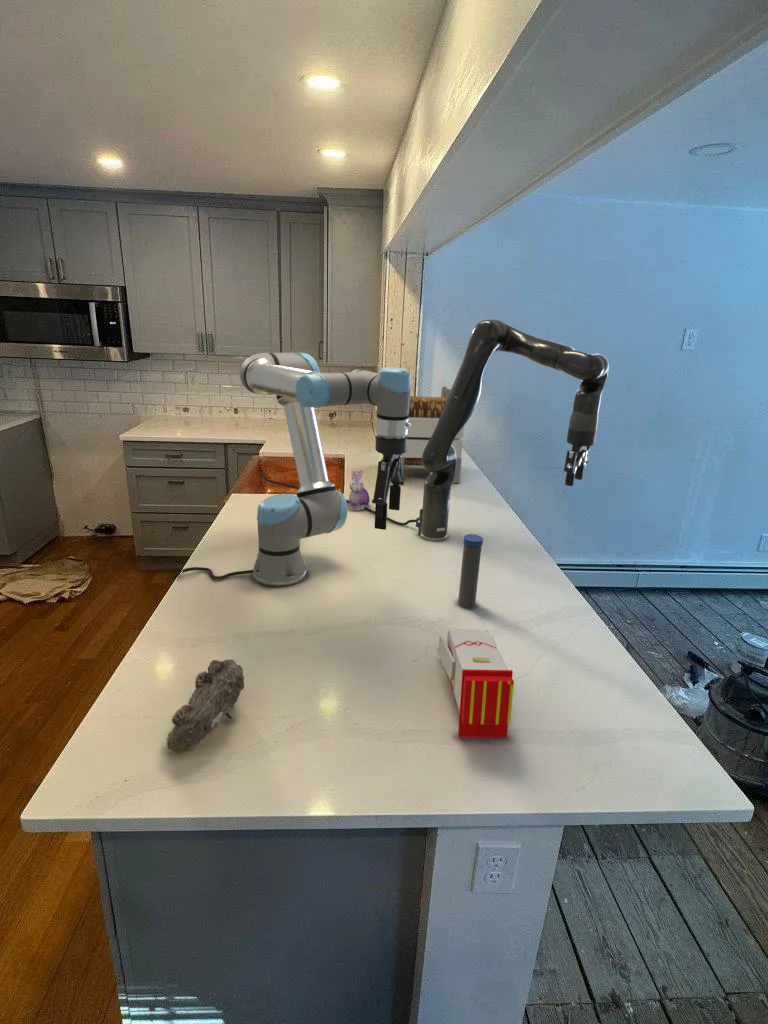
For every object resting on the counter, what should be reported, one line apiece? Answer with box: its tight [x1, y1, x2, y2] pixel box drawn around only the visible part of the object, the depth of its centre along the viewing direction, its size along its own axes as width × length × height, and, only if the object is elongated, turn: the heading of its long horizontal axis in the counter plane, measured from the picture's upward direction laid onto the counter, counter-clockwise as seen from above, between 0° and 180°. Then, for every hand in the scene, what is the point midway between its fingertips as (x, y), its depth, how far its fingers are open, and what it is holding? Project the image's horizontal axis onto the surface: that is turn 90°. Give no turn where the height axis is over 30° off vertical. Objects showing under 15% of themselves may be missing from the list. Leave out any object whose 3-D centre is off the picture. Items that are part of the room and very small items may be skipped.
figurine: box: [348, 469, 370, 511], centre depth 222 cm, size 9×10×15 cm
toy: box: [437, 628, 515, 738], centre depth 117 cm, size 12×13×30 cm
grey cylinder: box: [457, 544, 483, 609], centre depth 151 cm, size 5×5×19 cm
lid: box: [462, 533, 484, 548], centre depth 148 cm, size 5×5×2 cm
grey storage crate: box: [402, 386, 465, 484], centre depth 268 cm, size 34×33×41 cm
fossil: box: [166, 658, 245, 754], centre depth 106 cm, size 22×10×15 cm
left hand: (387, 518), depth 142 cm, fingers open, 13 cm apart
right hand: (573, 482), depth 165 cm, fingers open, 8 cm apart
